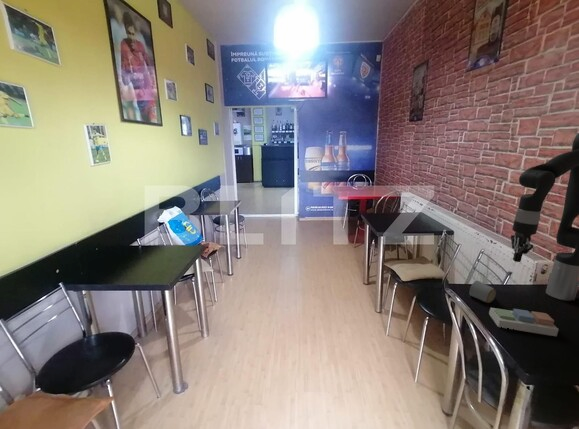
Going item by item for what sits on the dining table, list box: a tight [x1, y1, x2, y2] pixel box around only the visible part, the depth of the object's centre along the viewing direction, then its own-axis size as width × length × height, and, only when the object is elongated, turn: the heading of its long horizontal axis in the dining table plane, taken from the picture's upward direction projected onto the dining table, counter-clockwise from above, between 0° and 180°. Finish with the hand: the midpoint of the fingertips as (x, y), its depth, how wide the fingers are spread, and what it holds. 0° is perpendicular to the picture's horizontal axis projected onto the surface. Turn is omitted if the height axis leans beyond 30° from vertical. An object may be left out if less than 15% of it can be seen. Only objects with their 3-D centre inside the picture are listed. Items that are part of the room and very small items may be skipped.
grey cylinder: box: [468, 280, 497, 304], centre depth 131 cm, size 11×8×8 cm
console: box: [488, 307, 560, 337], centre depth 113 cm, size 19×9×3 cm, turn 75°
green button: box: [494, 307, 515, 320], centre depth 114 cm, size 5×5×3 cm
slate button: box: [512, 308, 535, 323], centre depth 112 cm, size 5×5×3 cm
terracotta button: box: [530, 311, 555, 326], centre depth 111 cm, size 5×5×3 cm
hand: (516, 261), depth 119 cm, fingers closed
